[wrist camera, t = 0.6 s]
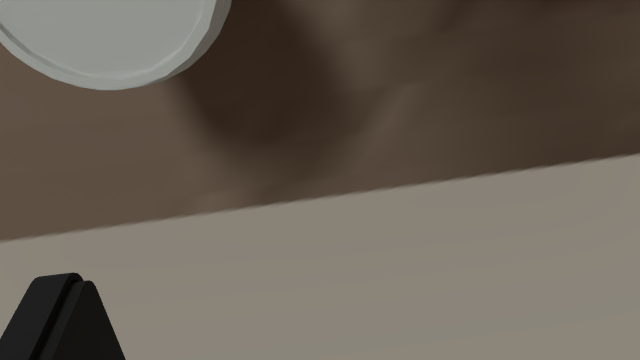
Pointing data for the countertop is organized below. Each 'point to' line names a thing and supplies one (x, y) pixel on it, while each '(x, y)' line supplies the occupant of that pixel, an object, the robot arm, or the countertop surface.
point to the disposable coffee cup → (110, 38)
